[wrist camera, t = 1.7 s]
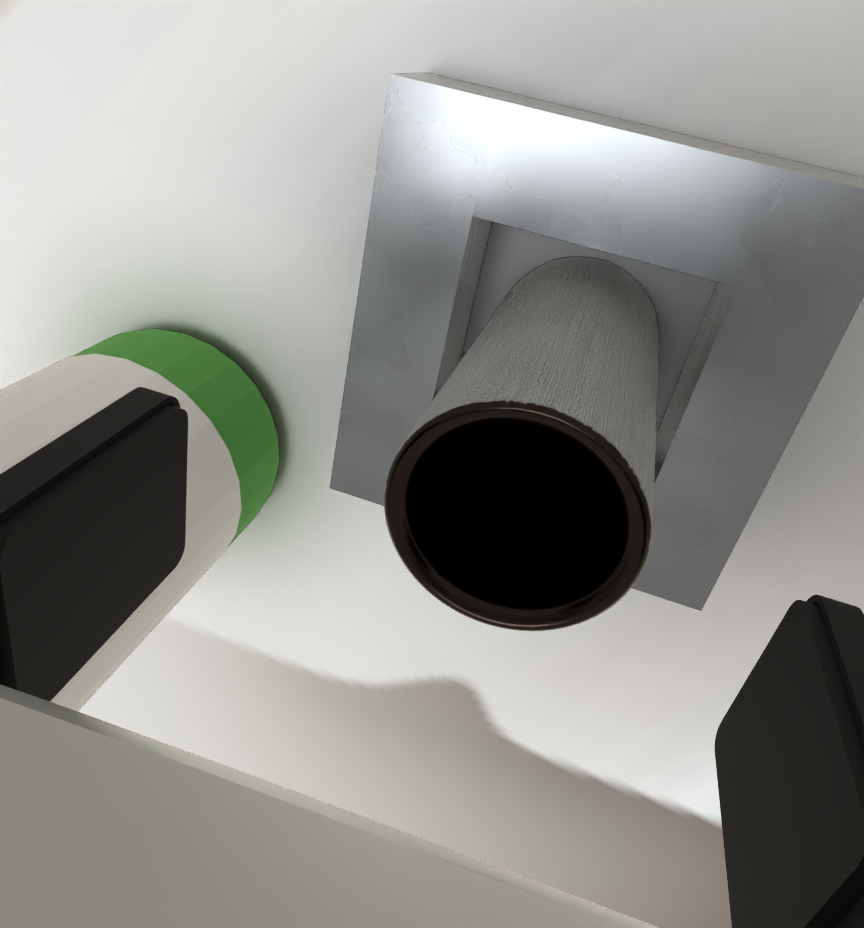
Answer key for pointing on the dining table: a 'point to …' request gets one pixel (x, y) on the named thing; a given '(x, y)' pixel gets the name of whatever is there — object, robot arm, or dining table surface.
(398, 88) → the socket block
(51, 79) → the dining table surface
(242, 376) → the wine bottle
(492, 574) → the grey cylinder
